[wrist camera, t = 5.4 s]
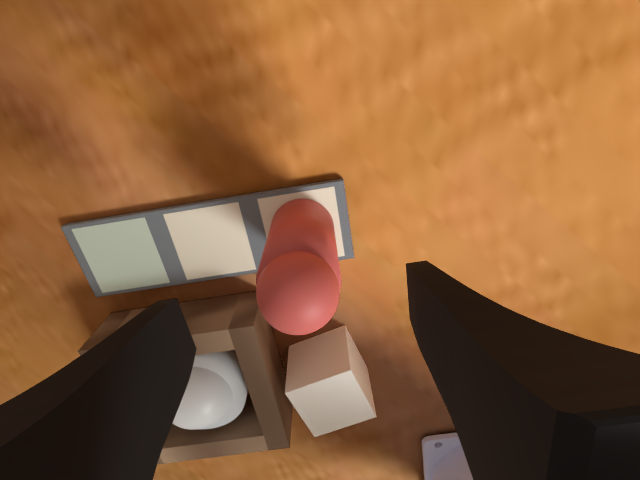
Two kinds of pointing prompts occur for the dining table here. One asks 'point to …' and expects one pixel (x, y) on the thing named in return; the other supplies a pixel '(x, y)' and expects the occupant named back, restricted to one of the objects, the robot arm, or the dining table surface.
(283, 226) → the pawn
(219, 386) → the dome
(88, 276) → the track
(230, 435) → the dome housing
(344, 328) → the white cube
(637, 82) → the dining table surface
